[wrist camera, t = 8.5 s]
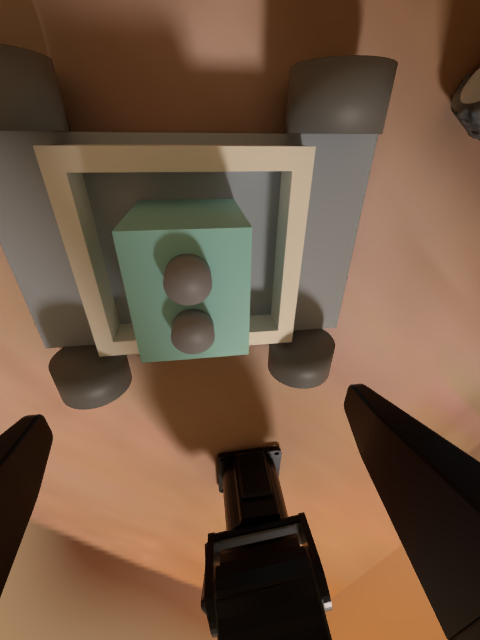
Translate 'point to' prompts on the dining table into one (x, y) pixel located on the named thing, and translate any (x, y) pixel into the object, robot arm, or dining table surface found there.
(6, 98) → the chassis
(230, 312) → the green cube with knobs
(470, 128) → the toy excavator
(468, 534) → the robot arm
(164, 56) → the dining table surface
